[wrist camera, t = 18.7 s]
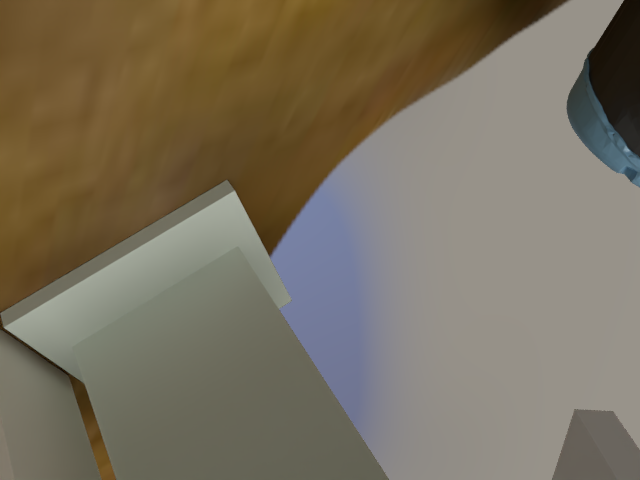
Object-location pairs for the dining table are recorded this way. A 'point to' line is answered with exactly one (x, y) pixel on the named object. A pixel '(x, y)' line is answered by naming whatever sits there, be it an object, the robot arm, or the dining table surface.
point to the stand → (194, 355)
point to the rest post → (39, 420)
